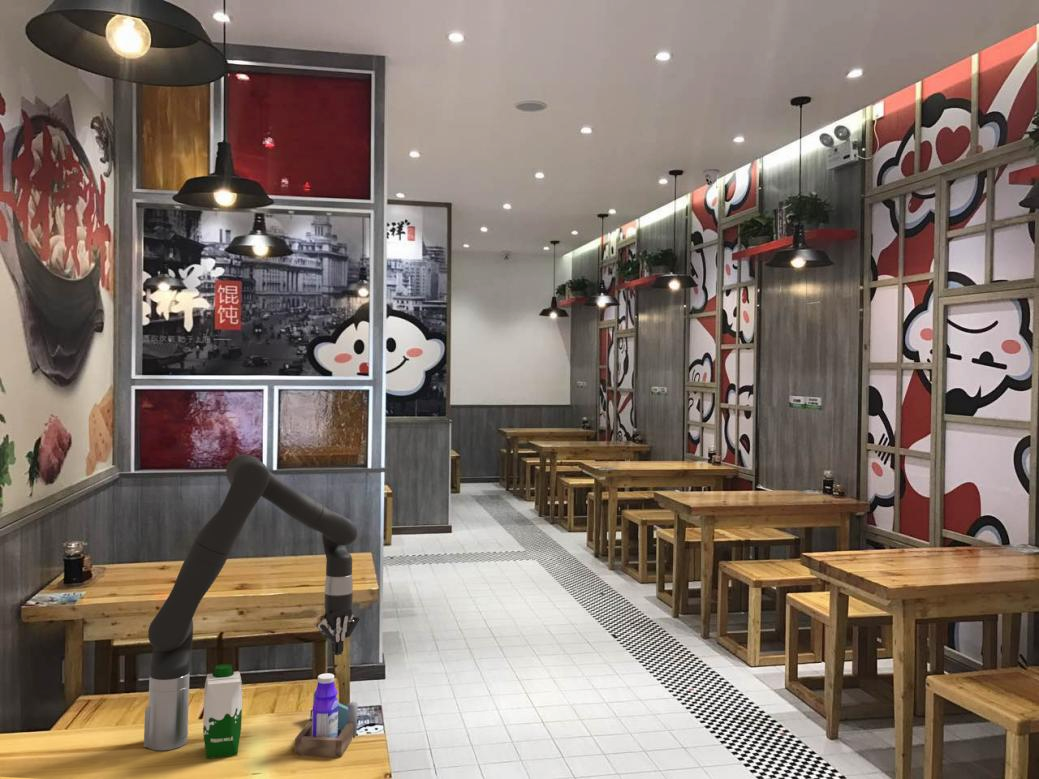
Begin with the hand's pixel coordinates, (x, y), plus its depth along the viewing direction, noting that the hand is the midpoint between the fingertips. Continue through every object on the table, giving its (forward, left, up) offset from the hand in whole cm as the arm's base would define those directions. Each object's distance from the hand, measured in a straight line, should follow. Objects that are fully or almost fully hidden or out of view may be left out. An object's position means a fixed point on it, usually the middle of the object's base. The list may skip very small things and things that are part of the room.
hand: (337, 654), depth 225 cm
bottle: (+3, -20, -17) cm, 26 cm away
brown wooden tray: (+3, -20, -17) cm, 26 cm away
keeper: (+2, -8, -17) cm, 18 cm away
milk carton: (-21, -26, -17) cm, 37 cm away
